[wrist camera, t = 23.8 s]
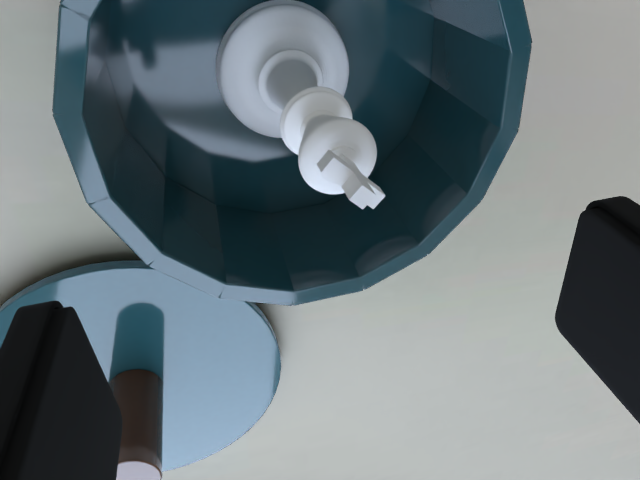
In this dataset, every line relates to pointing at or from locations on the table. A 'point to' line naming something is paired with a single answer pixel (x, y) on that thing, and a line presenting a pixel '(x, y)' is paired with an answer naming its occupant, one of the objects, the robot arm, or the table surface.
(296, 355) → the table surface
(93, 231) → the table surface
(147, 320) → the bowl lid
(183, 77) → the bowl
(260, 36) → the chess piece
